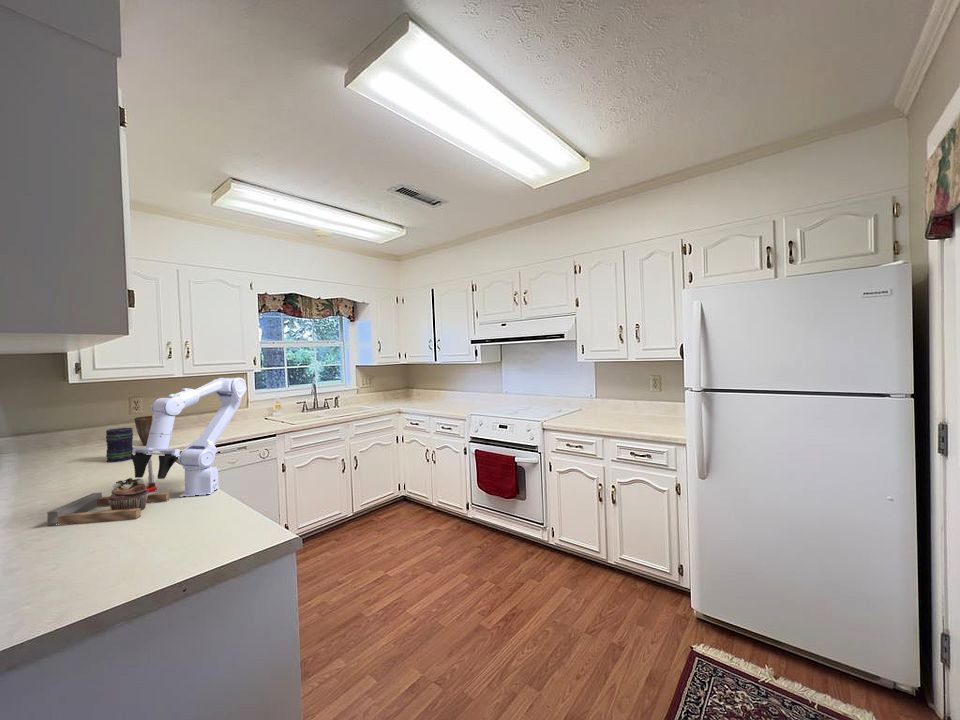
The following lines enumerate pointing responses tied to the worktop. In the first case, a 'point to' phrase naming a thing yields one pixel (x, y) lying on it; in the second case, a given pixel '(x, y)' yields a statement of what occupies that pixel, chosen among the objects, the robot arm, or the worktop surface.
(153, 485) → the tow hook
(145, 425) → the plant pot
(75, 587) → the worktop surface
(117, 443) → the storage jar
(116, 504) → the cupcake
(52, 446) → the worktop surface
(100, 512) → the guide track
